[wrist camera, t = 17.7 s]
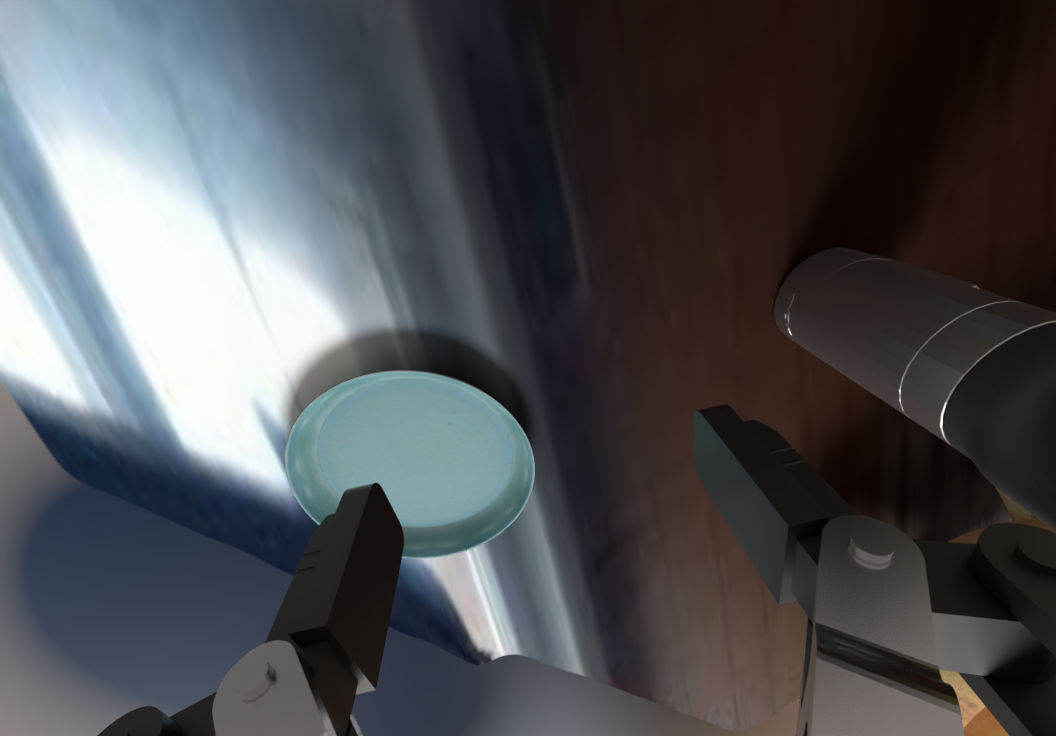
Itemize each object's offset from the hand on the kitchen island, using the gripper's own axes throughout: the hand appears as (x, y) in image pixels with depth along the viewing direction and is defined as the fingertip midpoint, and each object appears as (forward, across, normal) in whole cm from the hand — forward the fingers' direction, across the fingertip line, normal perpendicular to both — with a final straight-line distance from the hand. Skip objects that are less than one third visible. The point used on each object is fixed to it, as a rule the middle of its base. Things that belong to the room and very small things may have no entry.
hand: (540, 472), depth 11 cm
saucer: (+29, +14, +20) cm, 38 cm away
